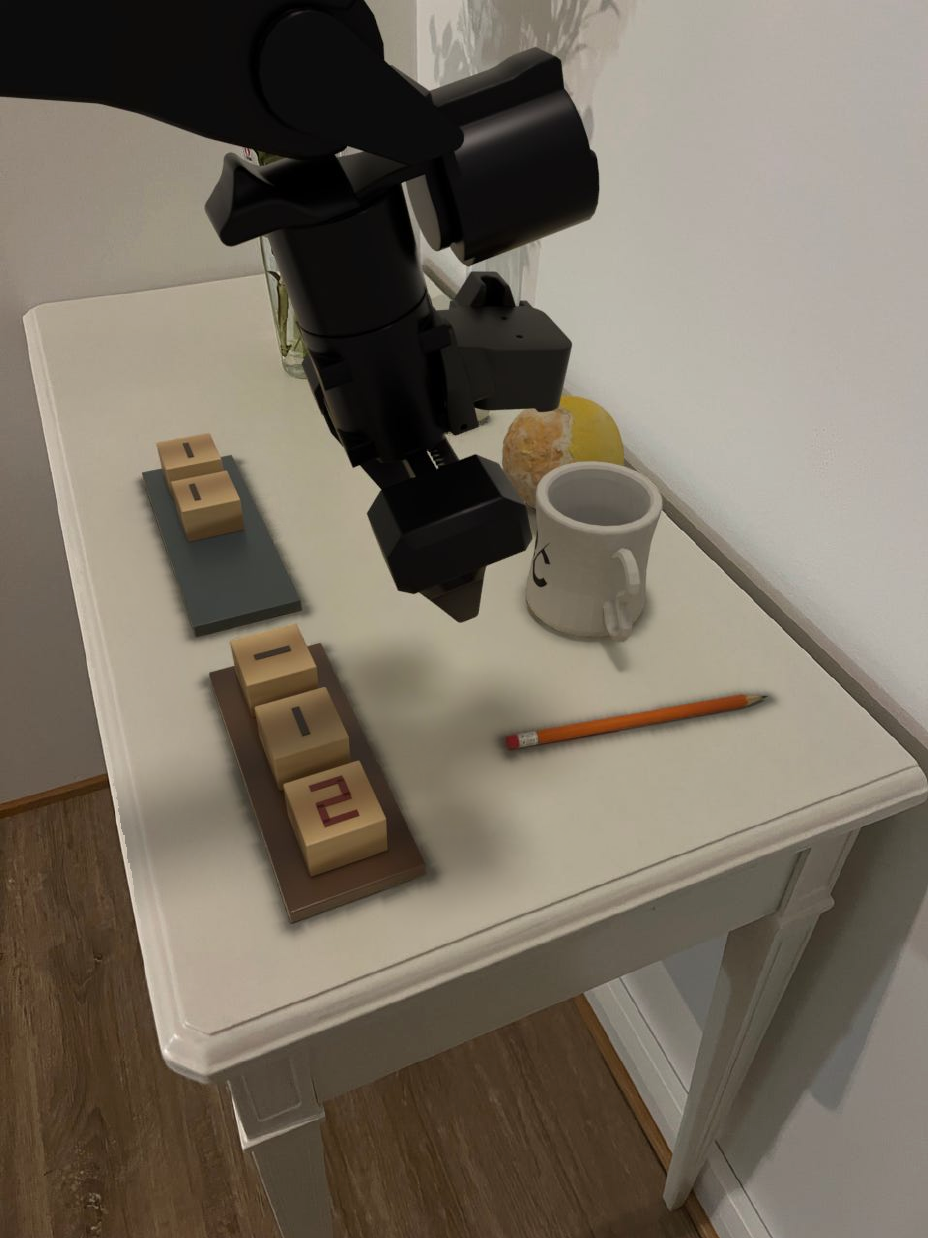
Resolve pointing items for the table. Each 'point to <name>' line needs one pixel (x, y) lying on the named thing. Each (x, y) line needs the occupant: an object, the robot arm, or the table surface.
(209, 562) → the back word strip
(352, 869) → the strip
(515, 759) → the table surface
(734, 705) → the pencil
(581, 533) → the mug
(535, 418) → the fruit
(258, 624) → the table surface
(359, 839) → the number block
